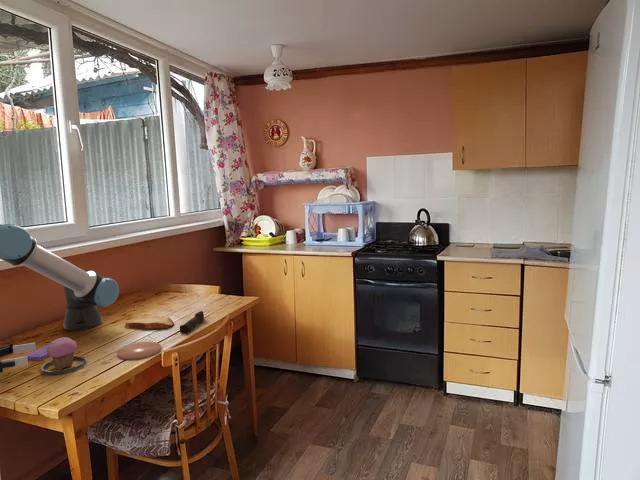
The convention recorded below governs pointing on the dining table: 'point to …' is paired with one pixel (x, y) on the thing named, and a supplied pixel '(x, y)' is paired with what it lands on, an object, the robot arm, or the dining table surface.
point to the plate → (138, 350)
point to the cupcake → (62, 352)
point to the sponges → (38, 354)
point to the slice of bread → (150, 323)
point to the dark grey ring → (64, 369)
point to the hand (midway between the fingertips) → (31, 353)
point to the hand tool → (192, 323)
